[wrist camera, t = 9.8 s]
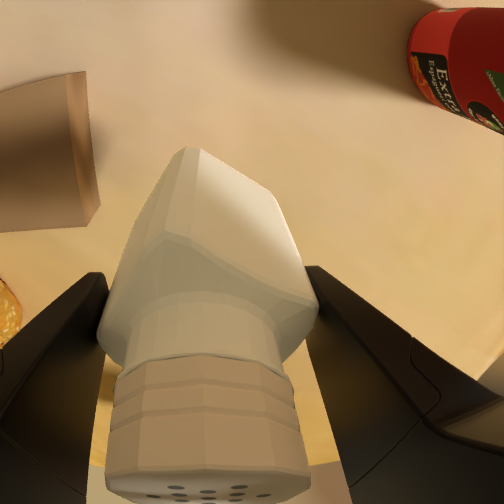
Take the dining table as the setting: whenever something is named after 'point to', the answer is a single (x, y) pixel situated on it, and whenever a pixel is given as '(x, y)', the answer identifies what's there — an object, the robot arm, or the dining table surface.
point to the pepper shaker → (206, 344)
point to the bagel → (8, 314)
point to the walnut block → (46, 156)
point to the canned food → (461, 62)
